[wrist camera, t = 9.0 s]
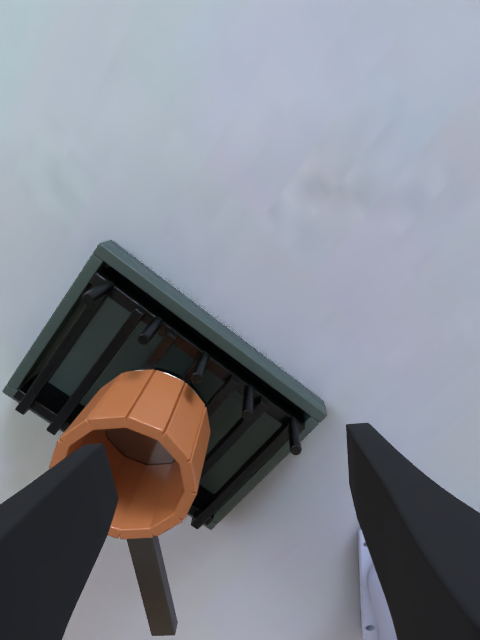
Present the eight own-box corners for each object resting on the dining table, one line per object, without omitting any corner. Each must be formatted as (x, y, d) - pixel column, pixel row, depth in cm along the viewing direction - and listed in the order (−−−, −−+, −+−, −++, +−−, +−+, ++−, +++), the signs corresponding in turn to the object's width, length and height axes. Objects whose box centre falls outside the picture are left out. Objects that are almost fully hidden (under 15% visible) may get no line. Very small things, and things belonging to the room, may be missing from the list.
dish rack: (323, 400, 22) (339, 456, 17) (214, 511, 25) (202, 583, 20) (111, 239, 20) (65, 254, 15) (17, 379, 23) (-45, 427, 18)
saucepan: (84, 371, 19) (33, 423, 15) (201, 361, 18) (182, 411, 14) (132, 557, 22) (102, 642, 18) (232, 553, 22) (224, 639, 18)
